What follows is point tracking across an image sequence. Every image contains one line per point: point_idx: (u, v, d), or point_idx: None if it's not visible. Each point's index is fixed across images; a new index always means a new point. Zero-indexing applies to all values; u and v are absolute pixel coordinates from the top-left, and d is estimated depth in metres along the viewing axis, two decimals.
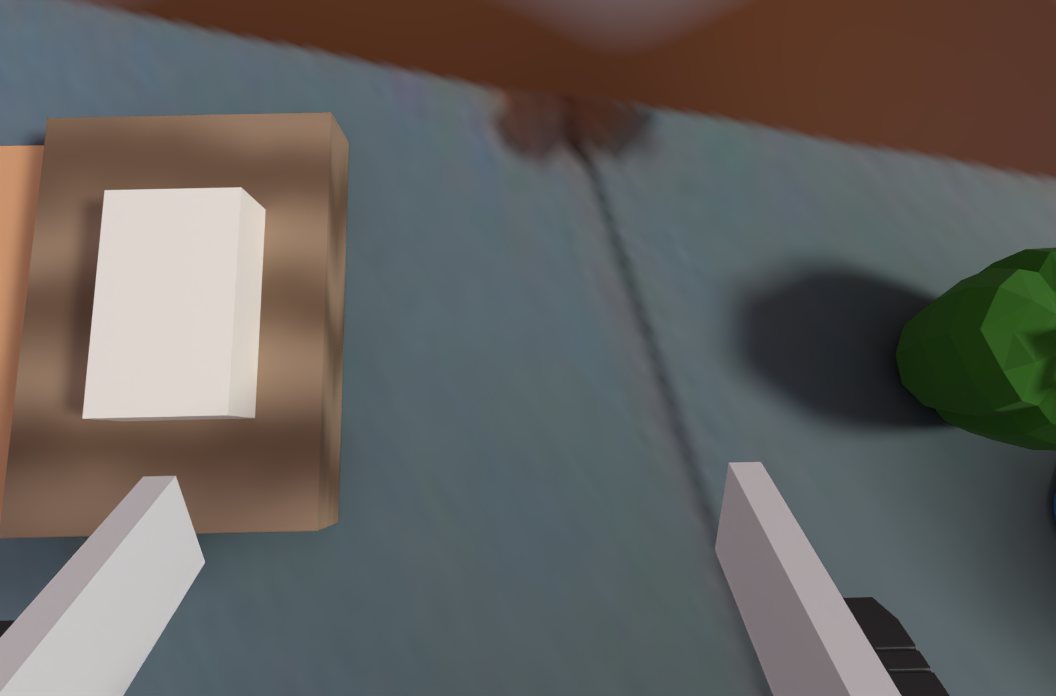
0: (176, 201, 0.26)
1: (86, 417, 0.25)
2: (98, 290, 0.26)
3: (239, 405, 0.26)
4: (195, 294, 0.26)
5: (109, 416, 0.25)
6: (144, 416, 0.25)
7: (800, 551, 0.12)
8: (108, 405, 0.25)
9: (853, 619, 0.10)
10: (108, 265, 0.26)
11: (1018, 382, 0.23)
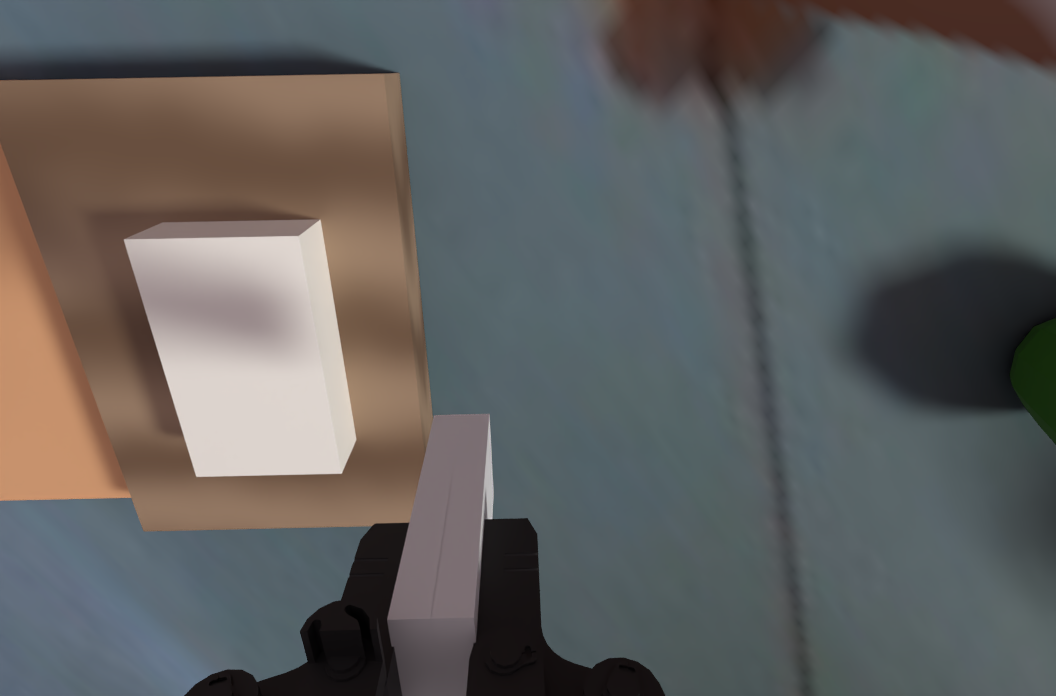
0: (221, 254, 0.21)
1: (200, 476, 0.25)
2: (164, 358, 0.23)
3: (346, 450, 0.26)
4: (277, 362, 0.23)
5: (223, 475, 0.25)
6: (258, 474, 0.25)
7: (472, 480, 0.14)
8: (218, 466, 0.25)
9: (478, 528, 0.12)
10: (164, 331, 0.22)
11: None
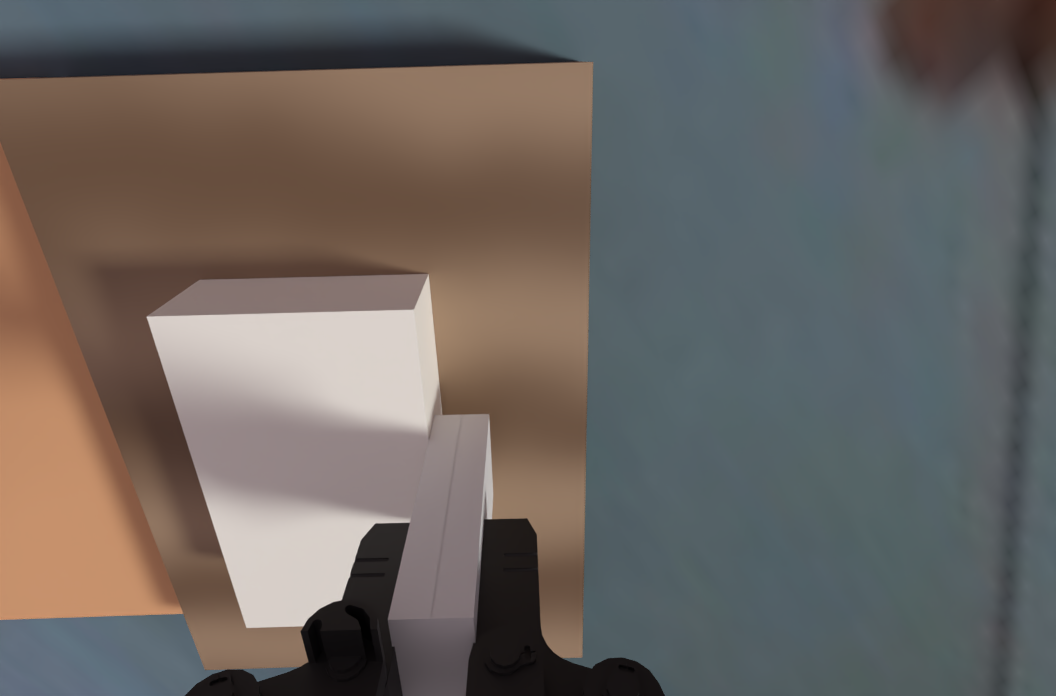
0: (294, 337, 0.14)
1: (252, 627, 0.18)
2: (205, 479, 0.15)
3: None
4: (368, 483, 0.16)
5: (284, 626, 0.18)
6: None
7: (471, 480, 0.14)
8: (277, 615, 0.18)
9: (477, 529, 0.12)
10: (206, 443, 0.15)
11: None
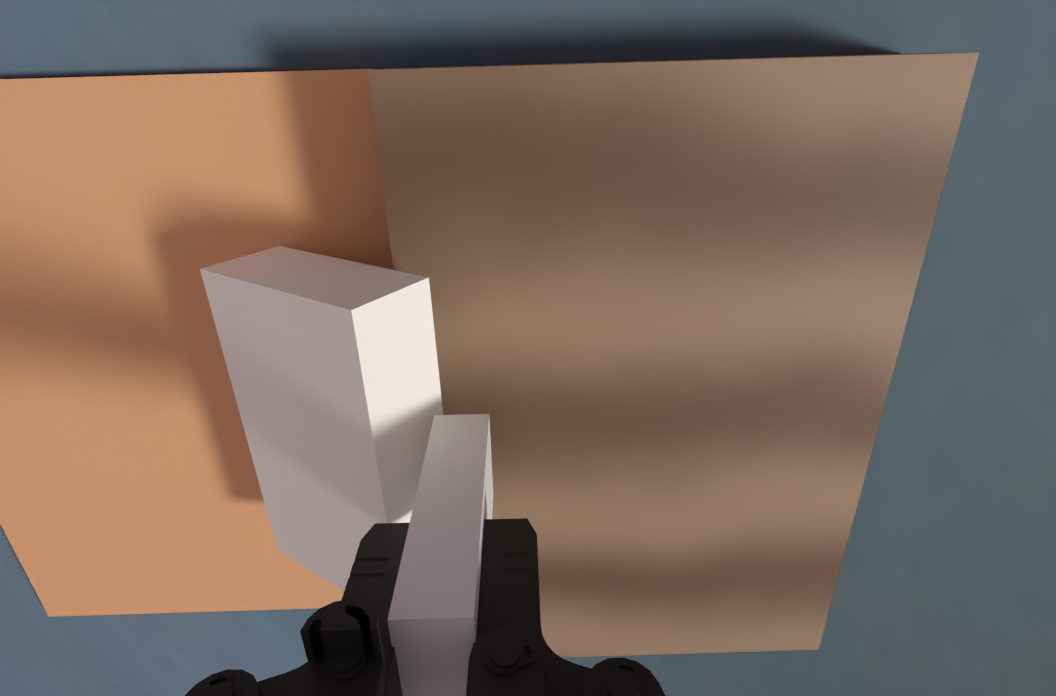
0: (278, 311, 0.15)
1: None
2: (243, 414, 0.18)
3: None
4: (337, 465, 0.16)
5: None
6: (327, 579, 0.19)
7: (471, 480, 0.14)
8: (293, 550, 0.20)
9: (478, 529, 0.12)
10: (240, 385, 0.17)
11: None
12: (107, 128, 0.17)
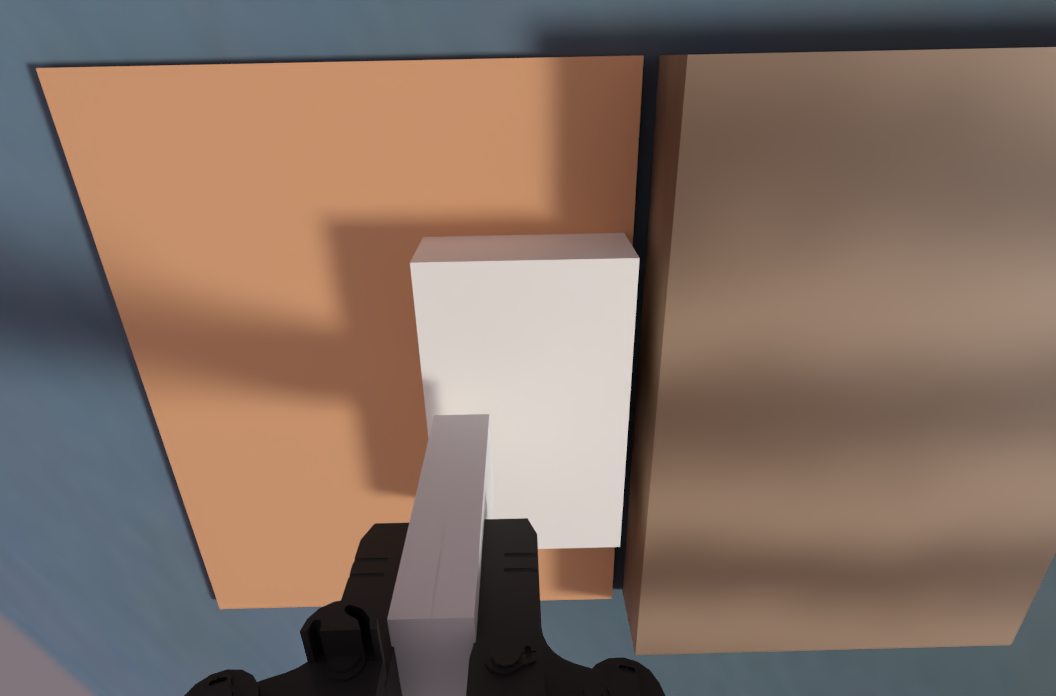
0: (533, 281, 0.16)
1: None
2: (431, 411, 0.18)
3: None
4: (572, 415, 0.18)
5: None
6: None
7: (472, 480, 0.14)
8: None
9: (478, 529, 0.12)
10: (438, 378, 0.17)
11: None
12: (367, 114, 0.16)
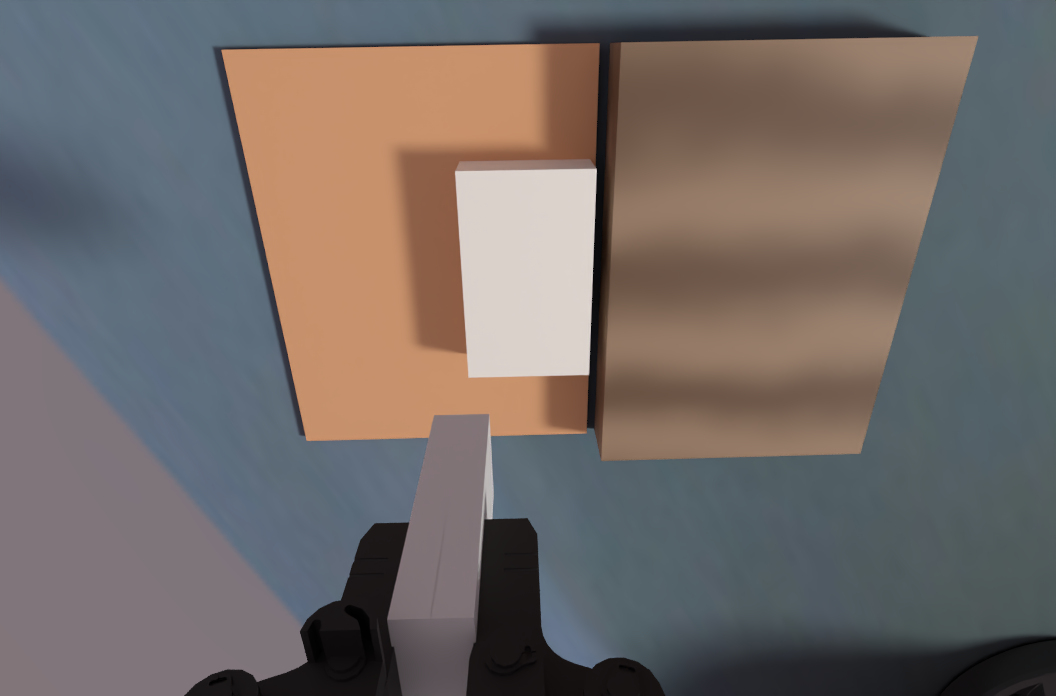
0: (531, 184, 0.26)
1: (472, 377, 0.30)
2: (465, 273, 0.27)
3: None
4: (556, 276, 0.28)
5: (491, 376, 0.30)
6: (519, 375, 0.30)
7: (472, 480, 0.14)
8: (488, 368, 0.30)
9: (478, 529, 0.12)
10: (470, 249, 0.27)
11: None
12: (426, 79, 0.26)
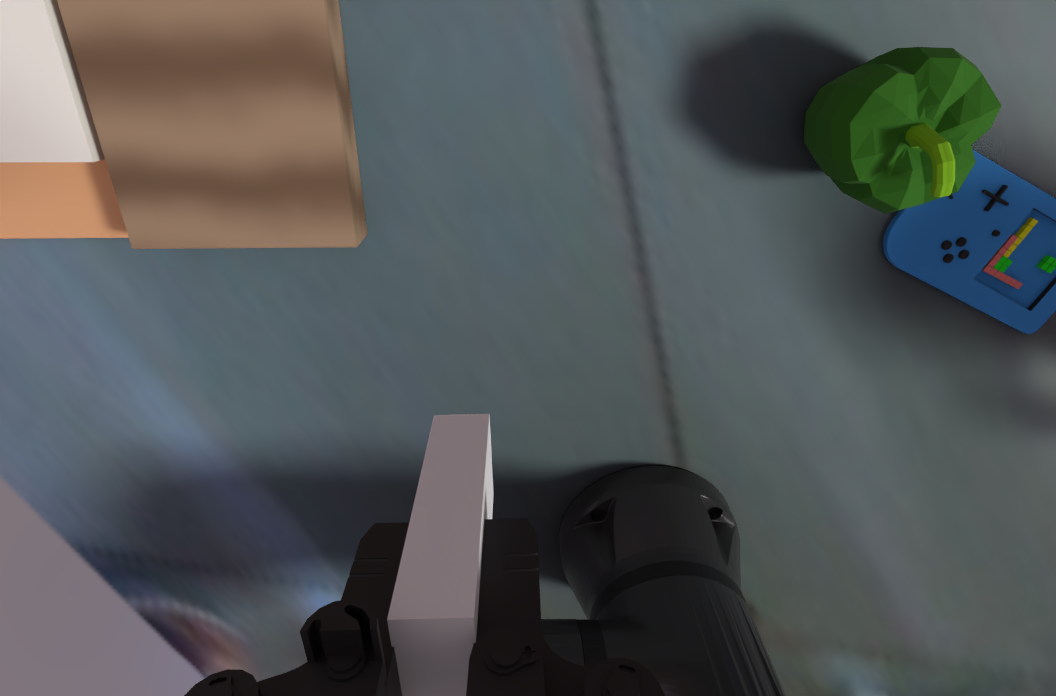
0: None
1: None
2: None
3: (100, 151, 0.36)
4: (32, 64, 0.33)
5: (8, 161, 0.35)
6: (33, 161, 0.35)
7: (472, 480, 0.14)
8: (4, 153, 0.35)
9: (478, 529, 0.12)
10: None
11: (859, 168, 0.32)
12: None
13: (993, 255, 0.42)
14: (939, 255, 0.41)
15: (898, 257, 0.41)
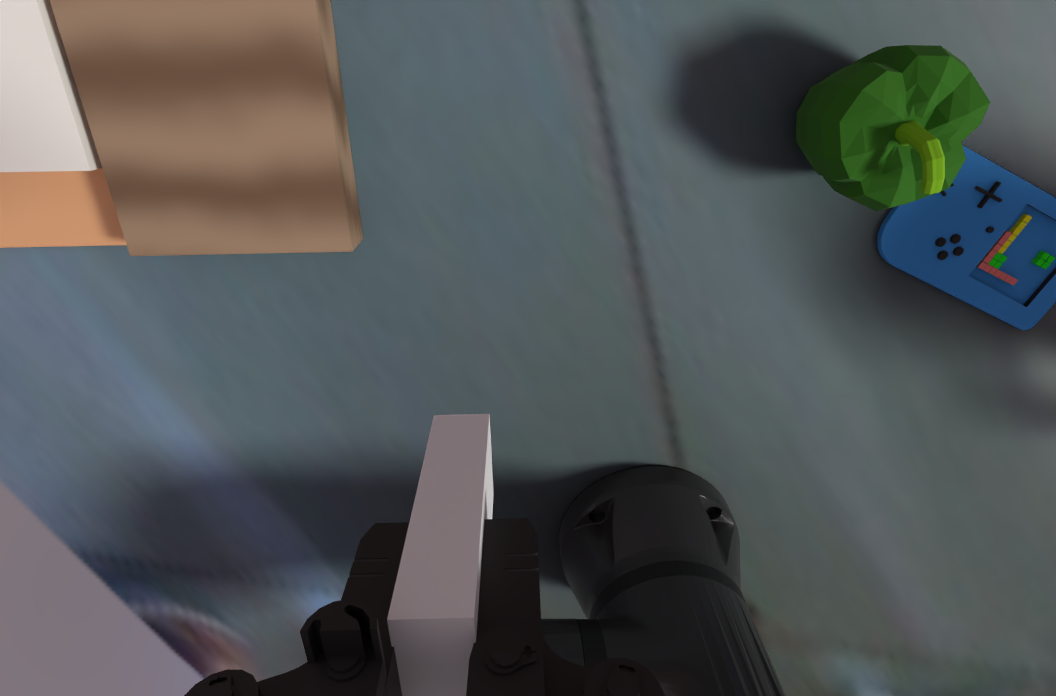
0: None
1: None
2: None
3: (98, 160, 0.36)
4: (29, 75, 0.33)
5: (7, 171, 0.36)
6: (32, 171, 0.36)
7: (472, 480, 0.14)
8: (2, 163, 0.36)
9: (478, 529, 0.12)
10: None
11: (850, 166, 0.32)
12: None
13: (987, 251, 0.42)
14: (934, 252, 0.41)
15: (892, 255, 0.42)
